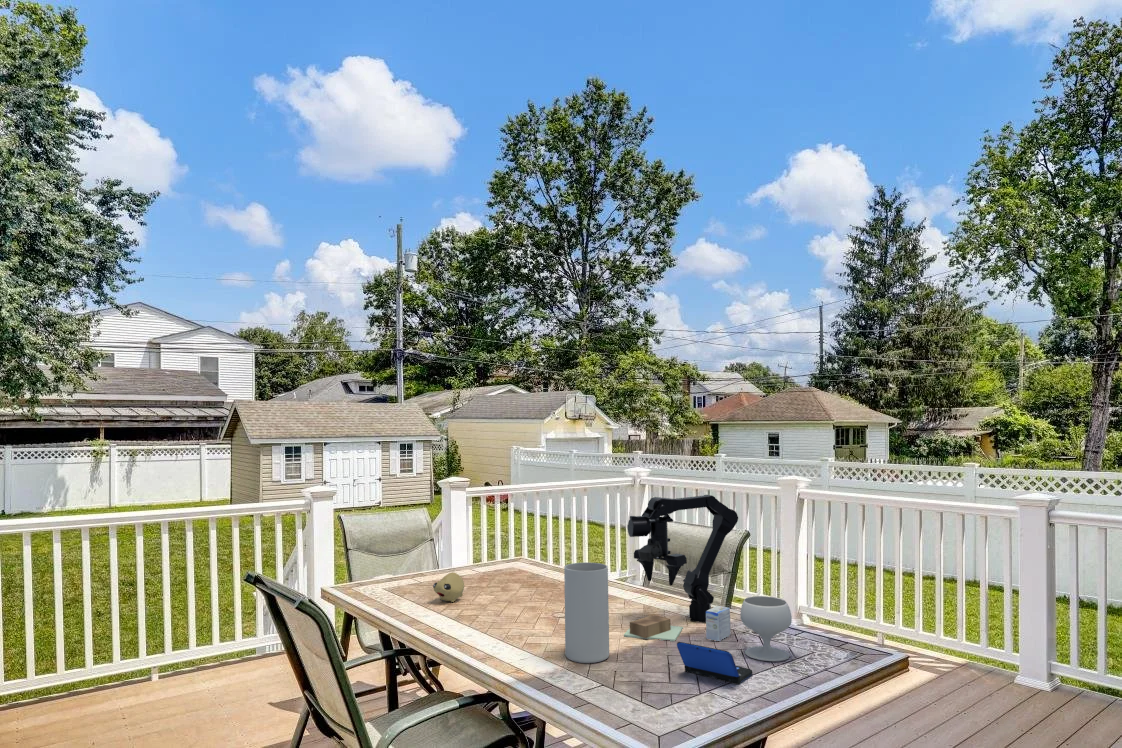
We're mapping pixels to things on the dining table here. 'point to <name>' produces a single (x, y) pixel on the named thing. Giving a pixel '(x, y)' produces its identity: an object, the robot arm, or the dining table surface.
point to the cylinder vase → (586, 612)
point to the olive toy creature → (449, 587)
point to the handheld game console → (711, 663)
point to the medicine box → (717, 623)
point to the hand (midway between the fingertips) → (660, 583)
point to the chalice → (766, 624)
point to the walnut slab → (650, 626)
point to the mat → (666, 635)
